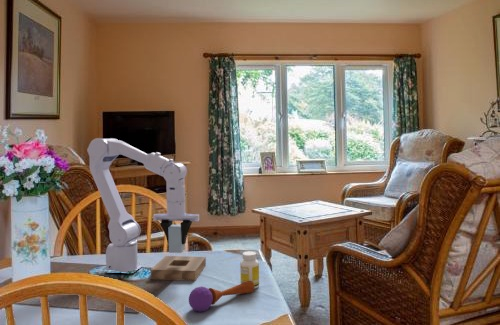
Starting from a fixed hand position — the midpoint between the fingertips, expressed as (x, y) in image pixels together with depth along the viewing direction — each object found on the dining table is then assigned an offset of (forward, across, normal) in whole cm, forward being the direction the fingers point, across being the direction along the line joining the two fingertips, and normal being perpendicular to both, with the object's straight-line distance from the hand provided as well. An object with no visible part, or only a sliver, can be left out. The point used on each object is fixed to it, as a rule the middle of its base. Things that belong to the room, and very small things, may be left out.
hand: (176, 243), depth 125 cm
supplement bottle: (+10, +24, -8) cm, 28 cm away
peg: (+2, 0, 0) cm, 2 cm away
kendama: (+10, +18, -20) cm, 29 cm away
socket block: (+10, 0, +2) cm, 10 cm away
